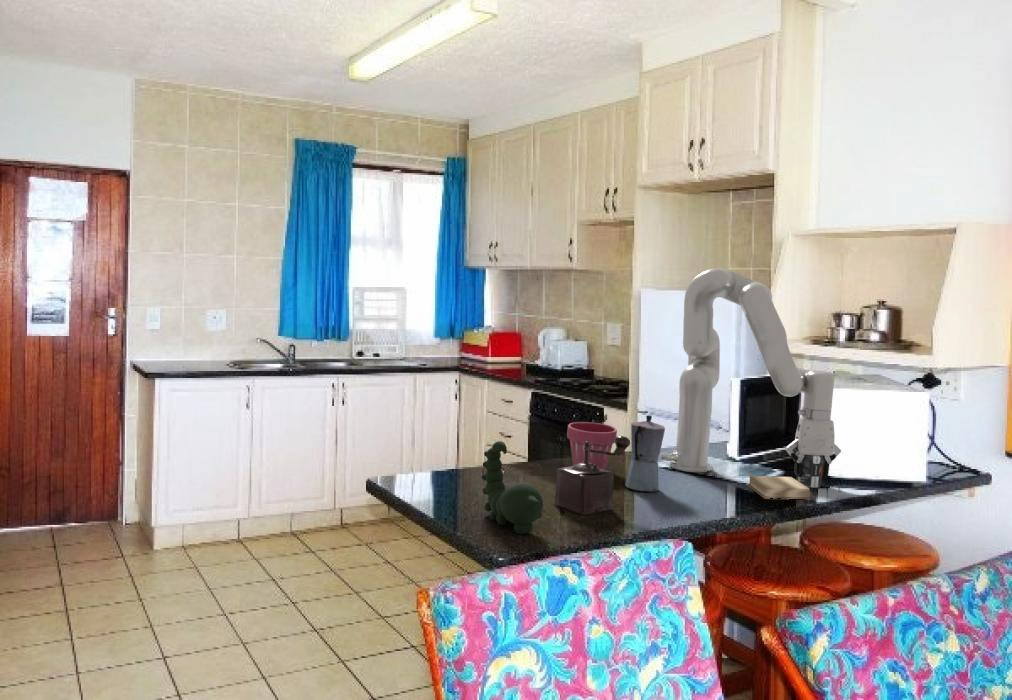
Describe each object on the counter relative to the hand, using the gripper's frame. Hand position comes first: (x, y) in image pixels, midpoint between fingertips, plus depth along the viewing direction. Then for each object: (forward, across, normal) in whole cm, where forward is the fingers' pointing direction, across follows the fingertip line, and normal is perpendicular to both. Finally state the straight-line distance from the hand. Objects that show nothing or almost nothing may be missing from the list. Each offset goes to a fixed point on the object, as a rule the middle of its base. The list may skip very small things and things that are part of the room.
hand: (810, 475), depth 250 cm
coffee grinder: (+3, -68, -26) cm, 73 cm away
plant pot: (+3, -62, +10) cm, 63 cm away
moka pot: (+3, -51, -9) cm, 52 cm away
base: (+3, -13, -9) cm, 16 cm away
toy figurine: (+3, -90, -42) cm, 99 cm away
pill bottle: (+3, 0, 0) cm, 3 cm away
